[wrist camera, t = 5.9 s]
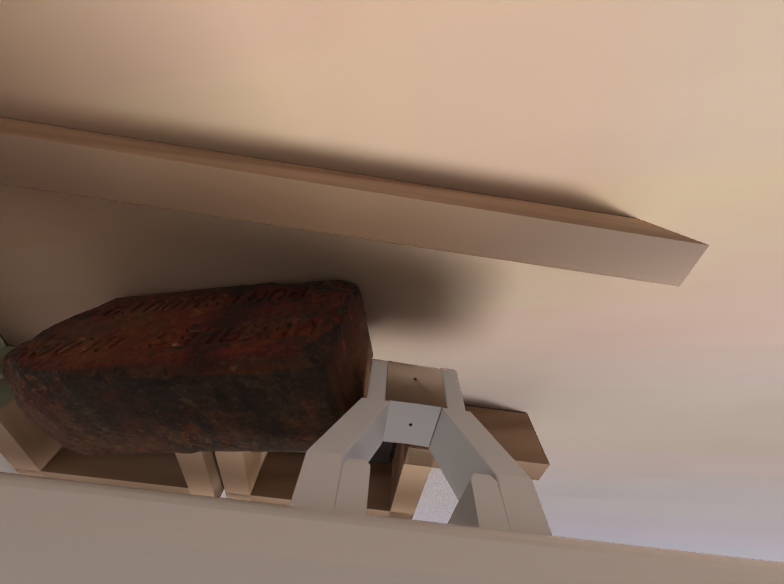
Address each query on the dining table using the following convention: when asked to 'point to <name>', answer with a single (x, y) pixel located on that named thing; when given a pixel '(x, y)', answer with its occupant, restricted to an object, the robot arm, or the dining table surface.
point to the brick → (198, 370)
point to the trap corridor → (320, 214)
